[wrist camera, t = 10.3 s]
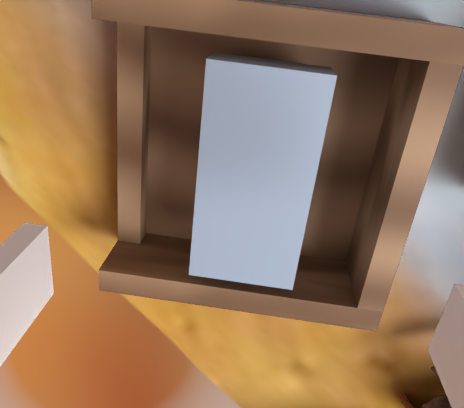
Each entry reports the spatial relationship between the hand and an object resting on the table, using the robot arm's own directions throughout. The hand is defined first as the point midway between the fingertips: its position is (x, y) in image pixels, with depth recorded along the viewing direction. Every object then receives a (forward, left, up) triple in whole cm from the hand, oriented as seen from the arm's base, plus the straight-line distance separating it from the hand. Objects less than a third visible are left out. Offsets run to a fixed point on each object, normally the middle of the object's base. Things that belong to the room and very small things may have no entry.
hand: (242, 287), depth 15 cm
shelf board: (0, 0, -12) cm, 12 cm away
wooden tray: (0, 0, -16) cm, 16 cm away
